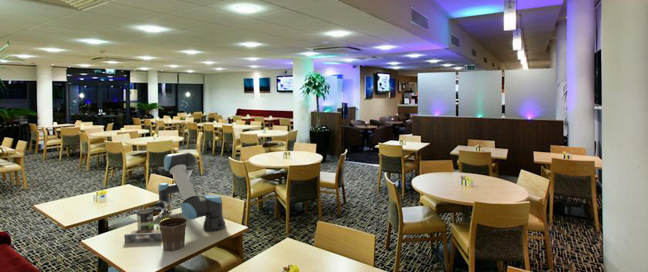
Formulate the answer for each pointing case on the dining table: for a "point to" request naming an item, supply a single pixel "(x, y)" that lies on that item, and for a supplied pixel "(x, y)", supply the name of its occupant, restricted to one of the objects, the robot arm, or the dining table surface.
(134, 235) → the display shelf
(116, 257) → the dining table surface
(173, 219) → the plant pot
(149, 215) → the coffee can
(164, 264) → the dining table surface
